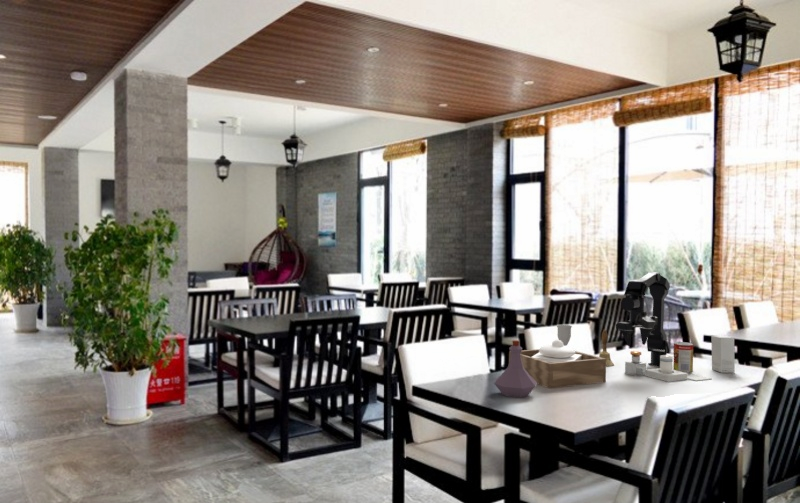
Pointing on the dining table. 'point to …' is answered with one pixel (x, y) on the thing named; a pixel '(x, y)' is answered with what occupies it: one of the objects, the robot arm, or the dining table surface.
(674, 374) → the white flat block
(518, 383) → the flask
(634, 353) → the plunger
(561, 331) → the chalice
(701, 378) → the mat
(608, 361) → the hand bell
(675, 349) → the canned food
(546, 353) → the butter dish
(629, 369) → the plunger block
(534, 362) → the wooden tray box
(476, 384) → the dining table surface
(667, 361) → the white cylinder
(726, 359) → the skincare box
